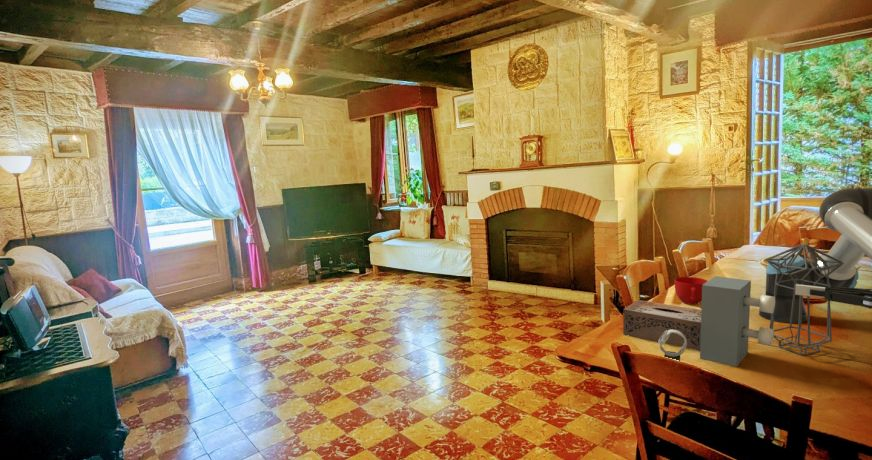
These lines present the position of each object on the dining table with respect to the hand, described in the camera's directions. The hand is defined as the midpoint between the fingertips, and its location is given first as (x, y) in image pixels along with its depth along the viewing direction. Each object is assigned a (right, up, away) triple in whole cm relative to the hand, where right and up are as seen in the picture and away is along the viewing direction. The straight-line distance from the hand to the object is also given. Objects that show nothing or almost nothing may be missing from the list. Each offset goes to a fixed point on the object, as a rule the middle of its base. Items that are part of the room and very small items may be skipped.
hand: (796, 289), depth 135 cm
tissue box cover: (-20, -22, +34) cm, 45 cm away
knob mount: (-11, -23, +16) cm, 30 cm away
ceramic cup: (+8, -15, +70) cm, 72 cm away
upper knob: (-6, -7, +8) cm, 13 cm away
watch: (-30, -25, +11) cm, 41 cm away
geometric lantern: (+14, -22, +17) cm, 31 cm away
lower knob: (-6, -17, +9) cm, 21 cm away
